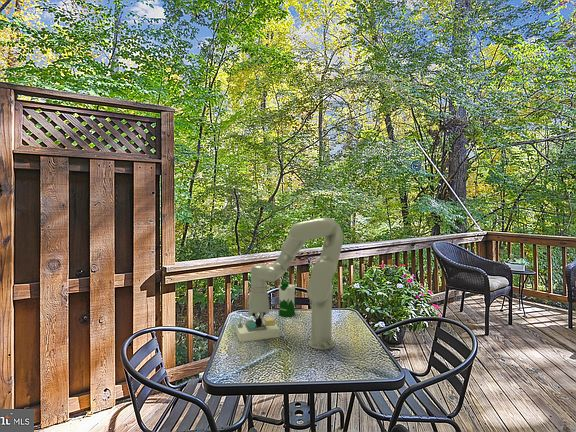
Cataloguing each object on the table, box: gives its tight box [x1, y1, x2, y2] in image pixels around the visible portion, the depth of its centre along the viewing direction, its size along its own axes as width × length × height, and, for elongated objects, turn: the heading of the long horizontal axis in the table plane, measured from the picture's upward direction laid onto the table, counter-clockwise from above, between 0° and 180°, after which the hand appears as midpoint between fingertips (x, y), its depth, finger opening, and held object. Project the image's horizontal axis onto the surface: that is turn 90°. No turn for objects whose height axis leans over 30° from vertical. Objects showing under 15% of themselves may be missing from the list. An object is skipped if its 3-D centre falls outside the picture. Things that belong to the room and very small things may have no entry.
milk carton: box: [277, 281, 296, 318], centre depth 197 cm, size 9×9×20 cm
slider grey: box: [245, 318, 254, 326], centre depth 167 cm, size 3×3×4 cm
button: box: [263, 317, 276, 326], centre depth 170 cm, size 4×4×5 cm
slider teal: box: [248, 321, 256, 329], centre depth 162 cm, size 3×3×4 cm
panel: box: [235, 316, 281, 343], centre depth 165 cm, size 12×20×10 cm, turn 108°
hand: (258, 325), depth 163 cm, fingers closed
